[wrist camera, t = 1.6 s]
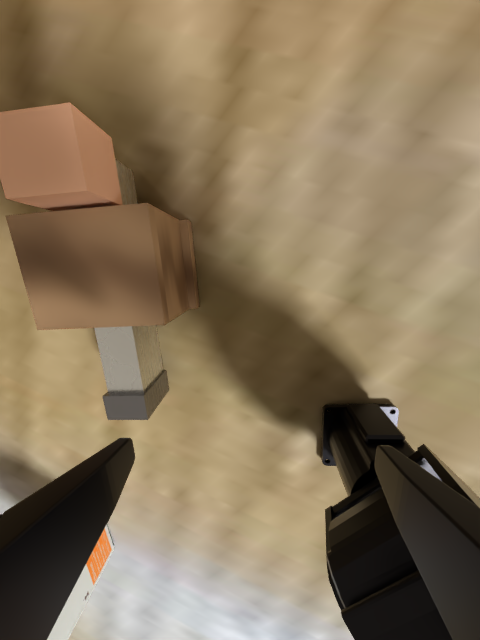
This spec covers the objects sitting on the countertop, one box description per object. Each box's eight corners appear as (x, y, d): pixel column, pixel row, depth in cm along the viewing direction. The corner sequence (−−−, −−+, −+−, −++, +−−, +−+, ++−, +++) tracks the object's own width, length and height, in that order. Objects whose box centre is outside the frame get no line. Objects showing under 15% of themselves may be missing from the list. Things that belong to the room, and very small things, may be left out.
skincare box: (116, 547, 29) (19, 741, 17) (85, 546, 29) (-31, 735, 17) (104, 509, 27) (-11, 692, 16) (71, 509, 28) (-65, 688, 16)
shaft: (169, 389, 21) (148, 419, 17) (136, 390, 22) (107, 419, 17) (136, 172, 17) (98, 143, 13) (96, 176, 17) (46, 149, 13)
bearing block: (199, 306, 20) (174, 324, 14) (93, 311, 21) (28, 330, 15) (190, 221, 19) (158, 201, 13) (76, 230, 19) (-5, 216, 13)
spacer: (122, 205, 14) (87, 190, 11) (56, 211, 14) (5, 198, 12) (111, 137, 13) (70, 102, 10) (41, 146, 14) (-18, 114, 11)
